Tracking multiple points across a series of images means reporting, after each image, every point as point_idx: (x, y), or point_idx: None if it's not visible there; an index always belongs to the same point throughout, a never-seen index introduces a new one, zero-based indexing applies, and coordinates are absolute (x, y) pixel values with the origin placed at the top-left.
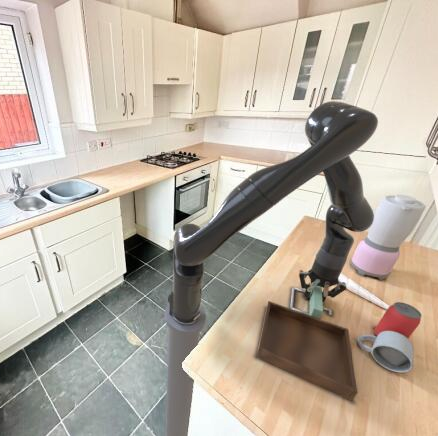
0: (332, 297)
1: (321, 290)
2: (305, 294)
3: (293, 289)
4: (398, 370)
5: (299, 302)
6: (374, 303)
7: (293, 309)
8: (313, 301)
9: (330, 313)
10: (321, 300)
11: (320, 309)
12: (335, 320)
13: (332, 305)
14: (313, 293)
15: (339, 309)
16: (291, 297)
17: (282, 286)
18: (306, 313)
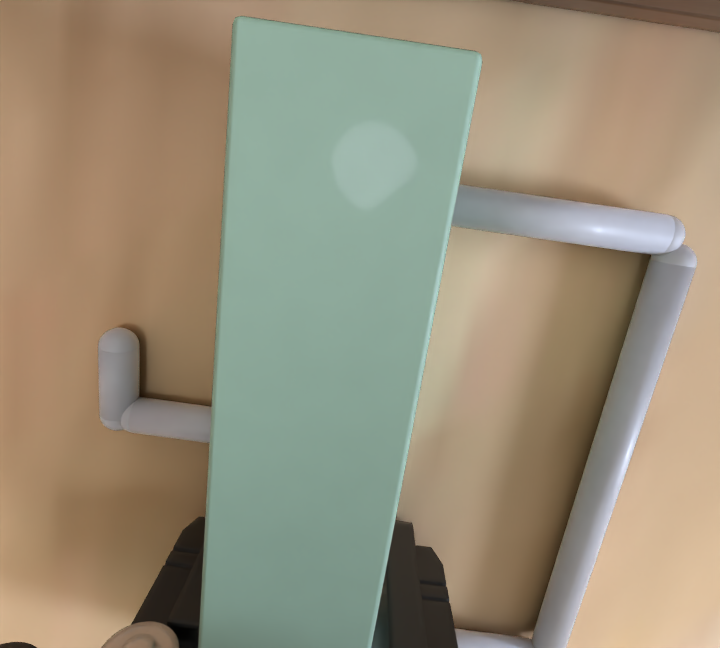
0: (7, 646)
1: None
2: (436, 588)
3: (562, 634)
4: None
5: (504, 429)
6: None
7: (665, 217)
8: (414, 392)
9: (113, 343)
10: (229, 474)
11: (295, 86)
12: (61, 253)
13: (89, 519)
14: (368, 639)
15: (11, 480)
16: (622, 477)
17: (670, 643)
18: (472, 195)
